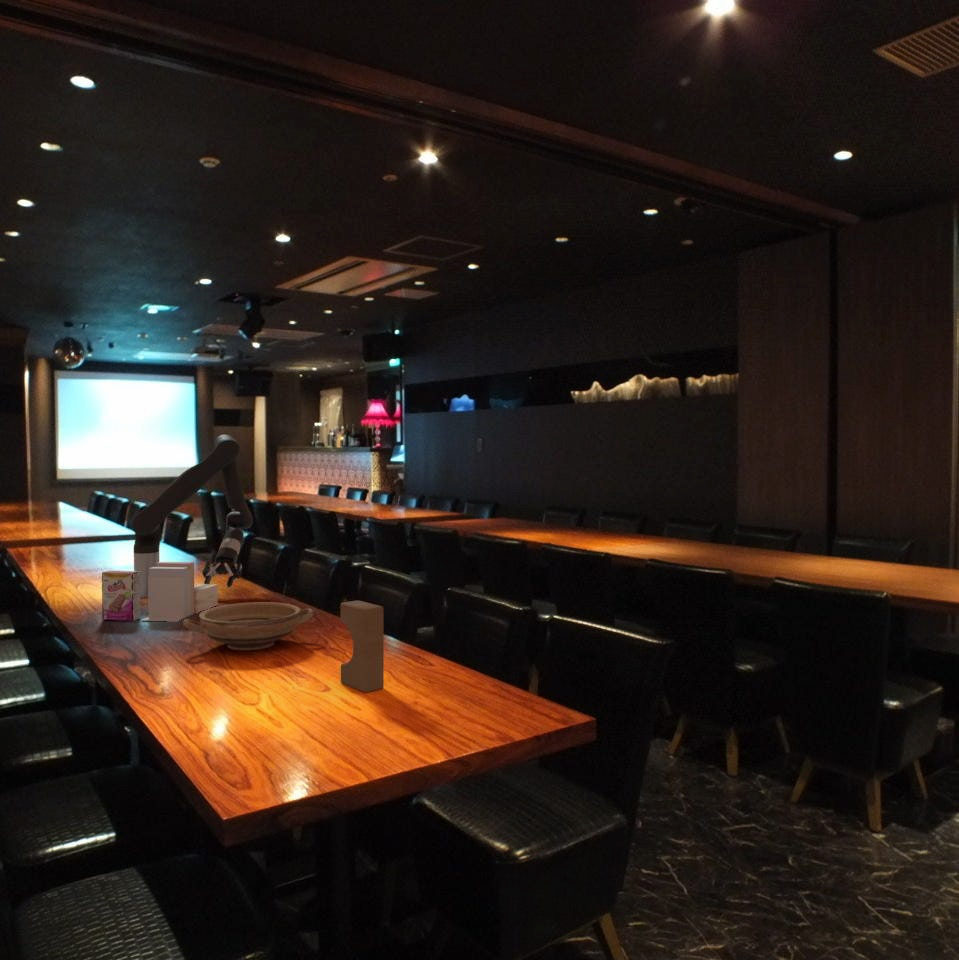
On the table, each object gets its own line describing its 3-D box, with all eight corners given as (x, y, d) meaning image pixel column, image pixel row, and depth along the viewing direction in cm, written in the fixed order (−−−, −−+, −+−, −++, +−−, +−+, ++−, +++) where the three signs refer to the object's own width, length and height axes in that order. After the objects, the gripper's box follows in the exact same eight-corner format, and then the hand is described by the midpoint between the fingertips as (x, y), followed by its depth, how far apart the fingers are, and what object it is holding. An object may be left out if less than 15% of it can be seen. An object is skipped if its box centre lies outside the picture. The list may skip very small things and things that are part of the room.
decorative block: (339, 683, 194) (339, 602, 193) (359, 678, 198) (359, 599, 197) (364, 693, 186) (364, 609, 185) (384, 688, 189) (384, 606, 189)
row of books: (141, 621, 262) (141, 567, 261) (161, 612, 276) (160, 561, 275) (176, 622, 261) (176, 568, 260) (194, 613, 275) (194, 562, 274)
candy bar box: (101, 621, 262) (100, 572, 262) (109, 618, 267) (109, 570, 267) (133, 622, 261) (132, 572, 261) (141, 618, 266) (140, 570, 266)
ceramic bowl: (189, 664, 210) (188, 627, 210) (178, 641, 236) (178, 608, 235) (325, 649, 226) (325, 615, 226) (301, 629, 252) (301, 597, 252)
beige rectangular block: (178, 613, 276) (178, 590, 276) (200, 605, 290) (200, 583, 290) (196, 614, 275) (196, 591, 275) (217, 606, 289) (217, 584, 288)
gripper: (208, 546, 309) (196, 580, 298) (243, 546, 308) (232, 580, 297) (213, 557, 314) (202, 591, 303) (248, 558, 313) (238, 591, 302)
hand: (217, 586), depth 300 cm, fingers open, 8 cm apart
